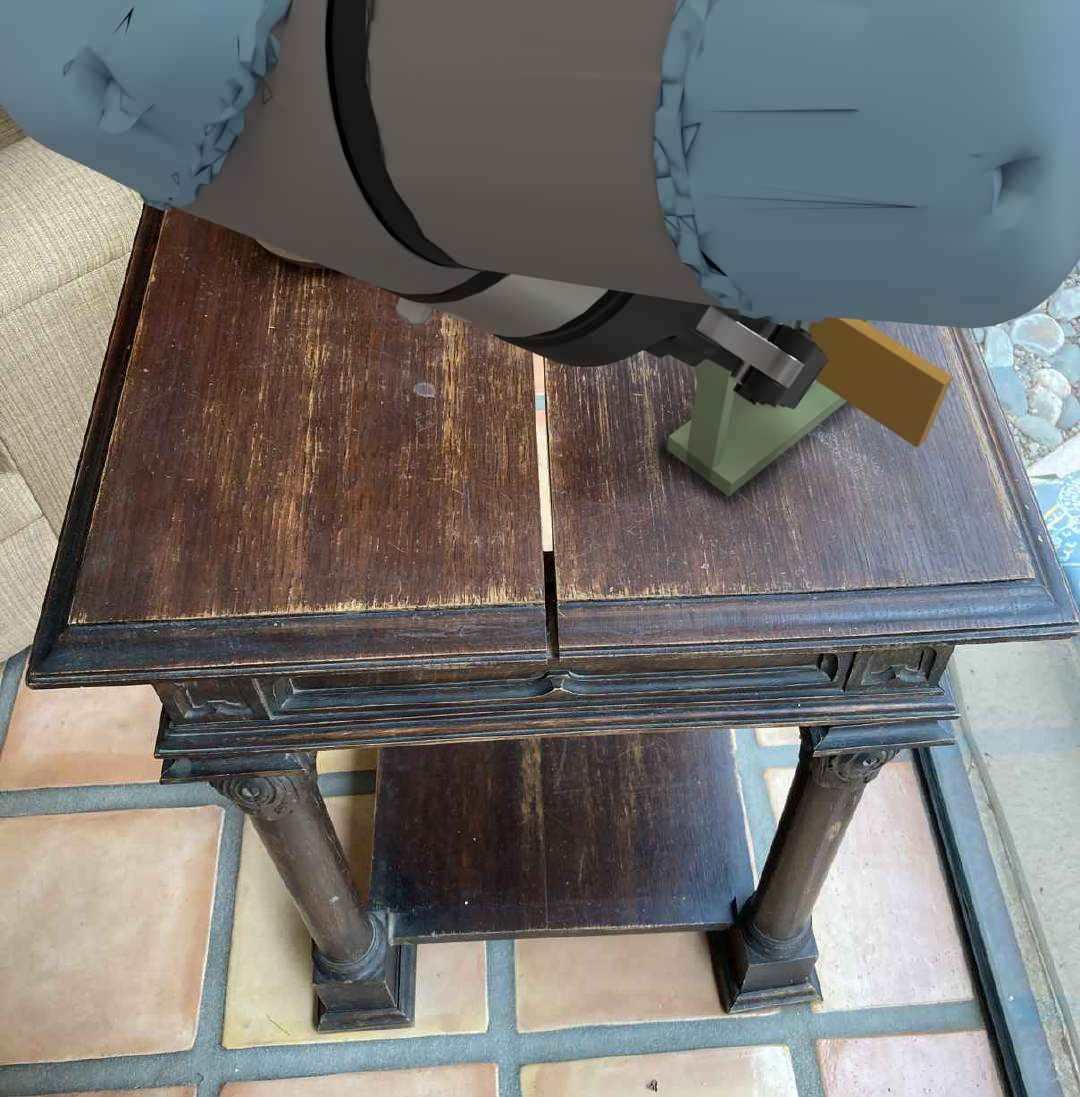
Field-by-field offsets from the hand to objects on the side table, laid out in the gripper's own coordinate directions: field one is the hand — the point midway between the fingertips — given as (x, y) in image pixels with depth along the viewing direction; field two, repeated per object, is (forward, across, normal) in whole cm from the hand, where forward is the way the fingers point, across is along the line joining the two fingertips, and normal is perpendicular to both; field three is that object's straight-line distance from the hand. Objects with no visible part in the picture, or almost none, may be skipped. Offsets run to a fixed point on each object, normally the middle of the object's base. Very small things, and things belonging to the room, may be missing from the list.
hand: (799, 376), depth 50 cm
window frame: (+26, -10, -3) cm, 28 cm away
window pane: (+27, -5, 0) cm, 27 cm away
